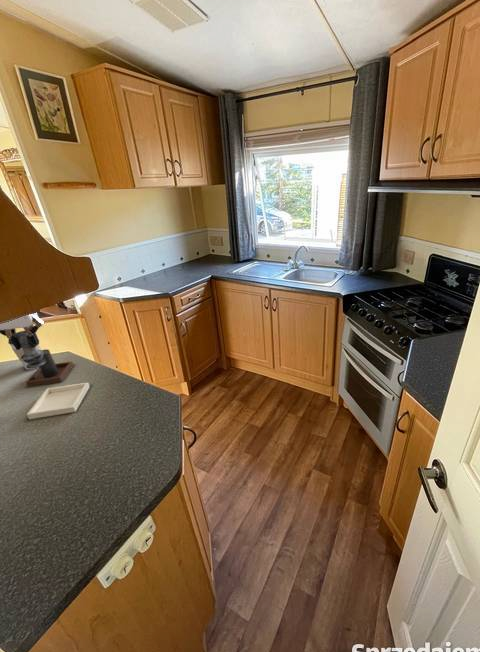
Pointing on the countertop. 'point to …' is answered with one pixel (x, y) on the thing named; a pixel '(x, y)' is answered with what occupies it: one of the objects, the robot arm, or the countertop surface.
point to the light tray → (59, 400)
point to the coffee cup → (21, 351)
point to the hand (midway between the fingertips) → (28, 346)
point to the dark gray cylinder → (48, 365)
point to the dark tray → (40, 380)
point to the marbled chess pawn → (30, 353)
